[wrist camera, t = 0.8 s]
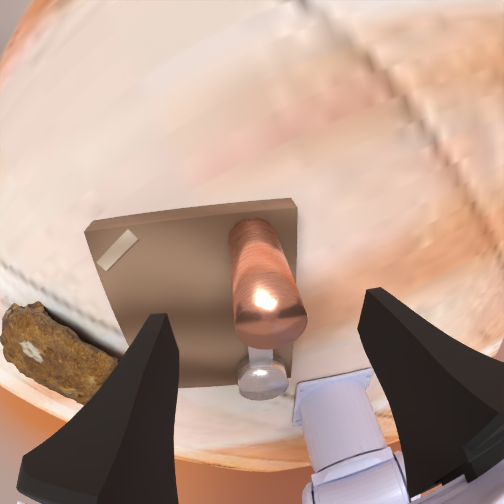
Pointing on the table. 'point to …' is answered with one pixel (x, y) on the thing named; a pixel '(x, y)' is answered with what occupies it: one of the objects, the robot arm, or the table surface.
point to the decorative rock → (53, 353)
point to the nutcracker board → (186, 279)
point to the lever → (262, 306)
